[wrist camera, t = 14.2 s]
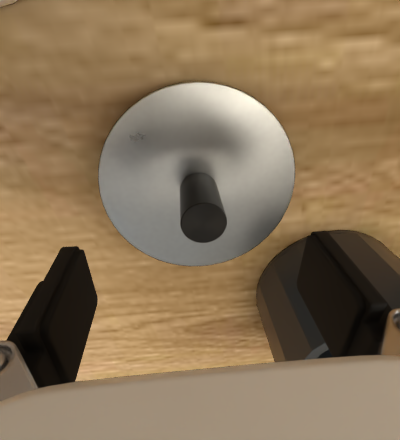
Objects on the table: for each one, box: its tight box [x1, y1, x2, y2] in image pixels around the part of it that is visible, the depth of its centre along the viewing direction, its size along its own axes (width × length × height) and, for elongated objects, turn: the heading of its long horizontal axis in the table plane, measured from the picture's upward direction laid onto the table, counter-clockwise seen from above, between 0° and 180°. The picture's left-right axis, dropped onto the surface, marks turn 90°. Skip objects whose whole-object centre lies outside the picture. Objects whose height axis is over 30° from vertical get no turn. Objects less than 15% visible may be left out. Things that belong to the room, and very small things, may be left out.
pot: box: [256, 230, 400, 362], centre depth 25 cm, size 14×14×10 cm
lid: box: [98, 81, 295, 266], centre depth 19 cm, size 15×15×6 cm
